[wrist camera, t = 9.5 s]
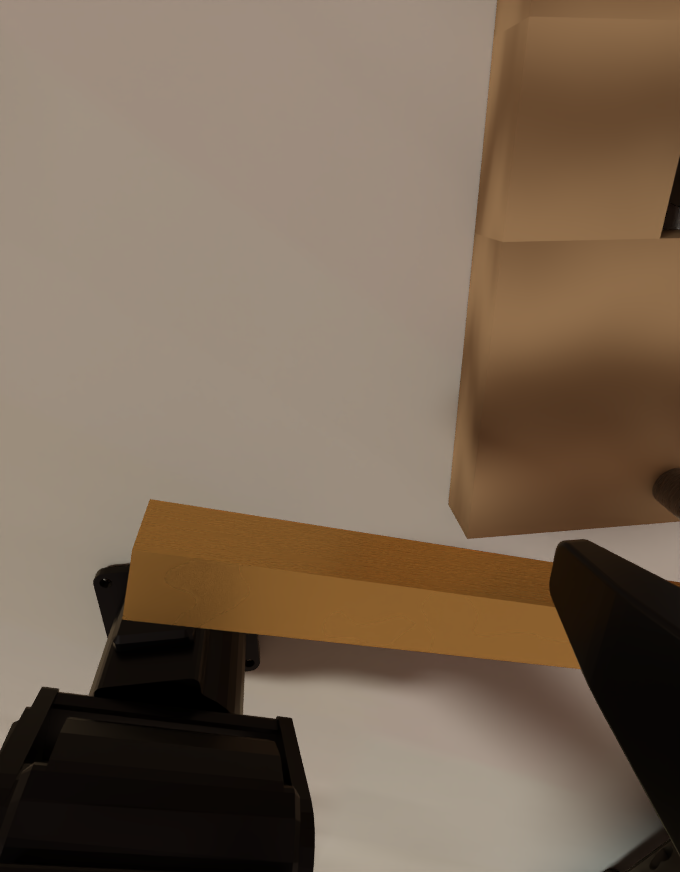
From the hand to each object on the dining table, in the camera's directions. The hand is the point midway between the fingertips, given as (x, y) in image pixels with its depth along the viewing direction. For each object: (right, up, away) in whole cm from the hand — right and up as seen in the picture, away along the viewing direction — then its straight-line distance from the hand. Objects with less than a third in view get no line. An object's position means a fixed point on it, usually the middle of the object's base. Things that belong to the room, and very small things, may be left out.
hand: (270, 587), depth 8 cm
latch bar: (+6, +2, +11) cm, 13 cm away
